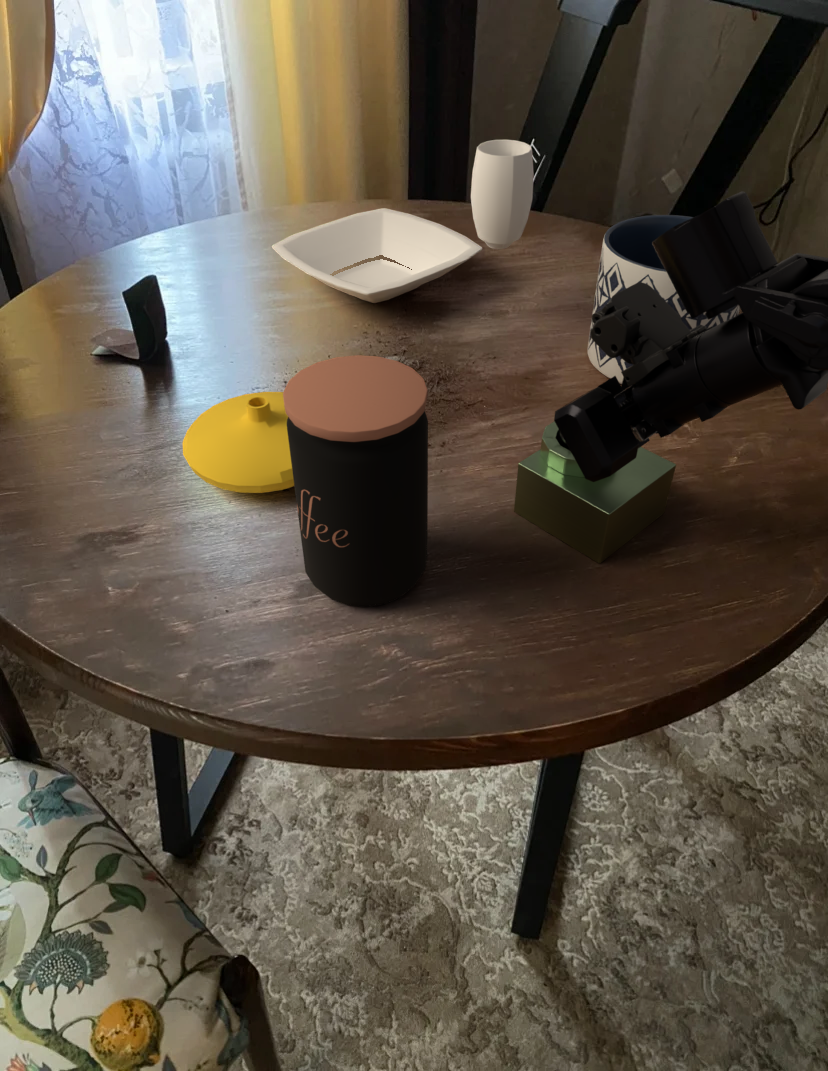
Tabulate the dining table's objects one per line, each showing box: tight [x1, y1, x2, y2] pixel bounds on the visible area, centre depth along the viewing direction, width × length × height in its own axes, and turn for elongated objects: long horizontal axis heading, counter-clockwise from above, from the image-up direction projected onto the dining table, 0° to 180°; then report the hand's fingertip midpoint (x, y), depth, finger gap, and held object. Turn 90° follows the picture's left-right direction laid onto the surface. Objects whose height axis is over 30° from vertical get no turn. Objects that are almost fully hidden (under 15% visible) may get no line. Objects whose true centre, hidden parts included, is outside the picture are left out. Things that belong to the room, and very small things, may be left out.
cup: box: [470, 139, 535, 251], centre depth 102 cm, size 7×7×21 cm
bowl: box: [271, 207, 483, 304], centre depth 114 cm, size 22×23×6 cm
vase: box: [181, 391, 294, 494], centre depth 83 cm, size 16×16×7 cm
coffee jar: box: [282, 354, 429, 608], centre depth 67 cm, size 11×11×18 cm
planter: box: [587, 214, 741, 385], centre depth 95 cm, size 16×16×14 cm
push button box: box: [513, 420, 677, 565], centre depth 76 cm, size 10×10×8 cm
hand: (582, 429), depth 74 cm, fingers closed, pressing on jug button
